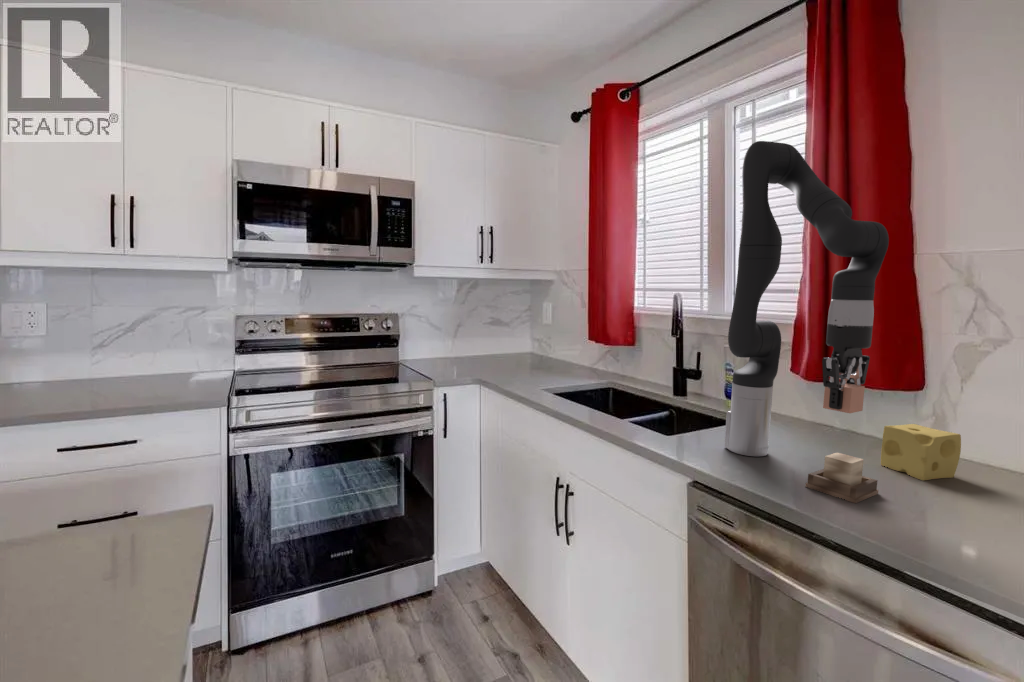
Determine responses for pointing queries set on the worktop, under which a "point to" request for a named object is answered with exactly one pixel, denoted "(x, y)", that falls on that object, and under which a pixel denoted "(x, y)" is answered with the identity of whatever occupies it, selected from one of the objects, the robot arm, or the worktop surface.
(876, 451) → the worktop surface
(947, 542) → the worktop surface
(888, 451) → the cheese
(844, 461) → the base block
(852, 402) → the top block
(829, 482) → the socket board
